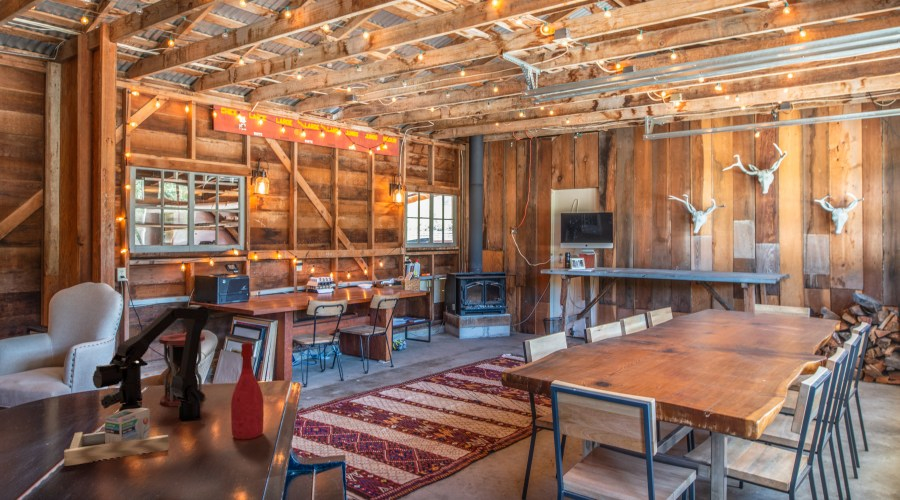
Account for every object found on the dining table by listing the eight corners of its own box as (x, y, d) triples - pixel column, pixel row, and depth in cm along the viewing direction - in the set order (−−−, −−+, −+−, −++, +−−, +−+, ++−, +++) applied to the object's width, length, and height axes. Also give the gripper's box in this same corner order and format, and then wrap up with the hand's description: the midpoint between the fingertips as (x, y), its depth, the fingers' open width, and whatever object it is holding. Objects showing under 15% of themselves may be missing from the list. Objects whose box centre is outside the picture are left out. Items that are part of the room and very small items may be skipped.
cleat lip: (107, 440, 181) (107, 431, 181) (107, 442, 180) (107, 432, 180) (83, 444, 178) (82, 434, 178) (82, 445, 177) (82, 436, 177)
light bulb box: (121, 455, 169) (121, 418, 169) (104, 452, 171) (103, 416, 171) (151, 442, 179) (150, 408, 179) (134, 440, 181) (133, 405, 181)
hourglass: (176, 394, 234) (175, 332, 234) (213, 395, 232) (213, 333, 231) (150, 405, 218) (149, 339, 218) (190, 407, 216) (189, 340, 215)
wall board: (166, 432, 188) (166, 420, 188) (168, 449, 173) (168, 436, 173) (71, 446, 176) (71, 433, 176) (64, 466, 161) (64, 451, 161)
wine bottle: (270, 432, 188) (269, 341, 187) (248, 442, 179) (247, 346, 178) (247, 428, 192) (246, 338, 192) (224, 438, 183) (223, 343, 183)
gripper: (103, 377, 191) (104, 424, 191) (99, 391, 174) (100, 443, 175) (142, 373, 196) (142, 419, 196) (141, 387, 179) (142, 437, 180)
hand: (131, 429), depth 187 cm, fingers open, 6 cm apart
